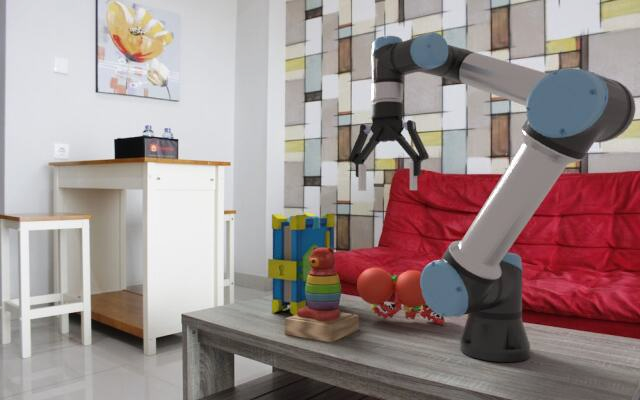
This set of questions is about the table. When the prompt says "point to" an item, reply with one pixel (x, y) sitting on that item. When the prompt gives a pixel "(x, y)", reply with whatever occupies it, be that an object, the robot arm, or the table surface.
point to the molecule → (380, 286)
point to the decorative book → (296, 256)
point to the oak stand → (322, 327)
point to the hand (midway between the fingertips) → (387, 190)
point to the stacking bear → (322, 287)
